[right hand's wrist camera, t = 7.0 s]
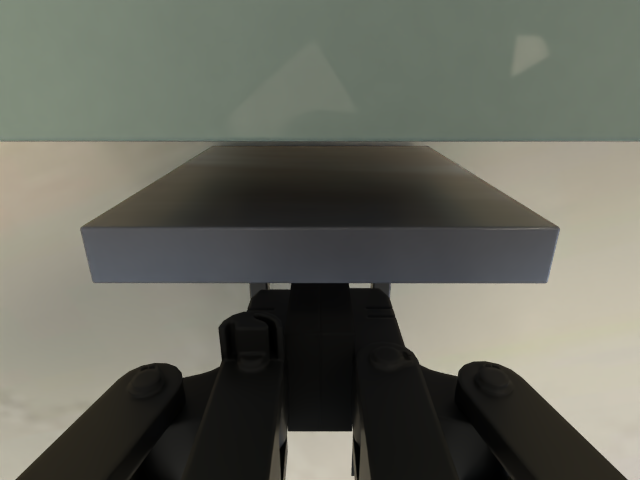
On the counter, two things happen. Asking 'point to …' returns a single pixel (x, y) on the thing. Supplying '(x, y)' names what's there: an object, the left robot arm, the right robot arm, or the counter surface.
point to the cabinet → (319, 70)
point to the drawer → (320, 222)
